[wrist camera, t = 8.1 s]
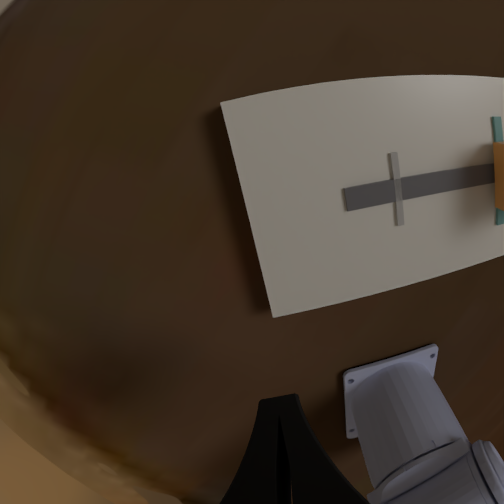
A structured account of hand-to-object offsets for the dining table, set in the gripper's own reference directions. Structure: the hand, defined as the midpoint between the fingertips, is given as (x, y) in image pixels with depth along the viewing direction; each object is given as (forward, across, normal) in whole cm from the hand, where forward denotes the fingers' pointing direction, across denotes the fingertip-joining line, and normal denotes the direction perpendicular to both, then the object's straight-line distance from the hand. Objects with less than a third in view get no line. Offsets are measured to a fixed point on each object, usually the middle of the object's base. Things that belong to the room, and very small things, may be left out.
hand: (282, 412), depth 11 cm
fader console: (+9, -14, -5) cm, 18 cm away
